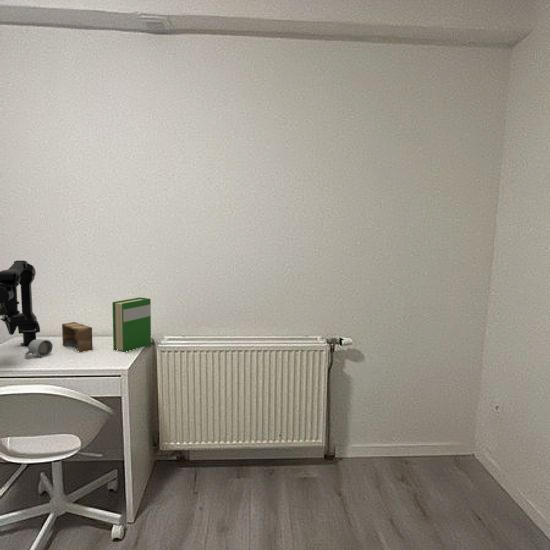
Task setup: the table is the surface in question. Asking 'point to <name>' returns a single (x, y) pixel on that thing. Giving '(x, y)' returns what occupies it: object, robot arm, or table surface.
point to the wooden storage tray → (77, 336)
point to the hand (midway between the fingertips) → (11, 334)
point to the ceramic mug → (39, 348)
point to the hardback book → (131, 323)
